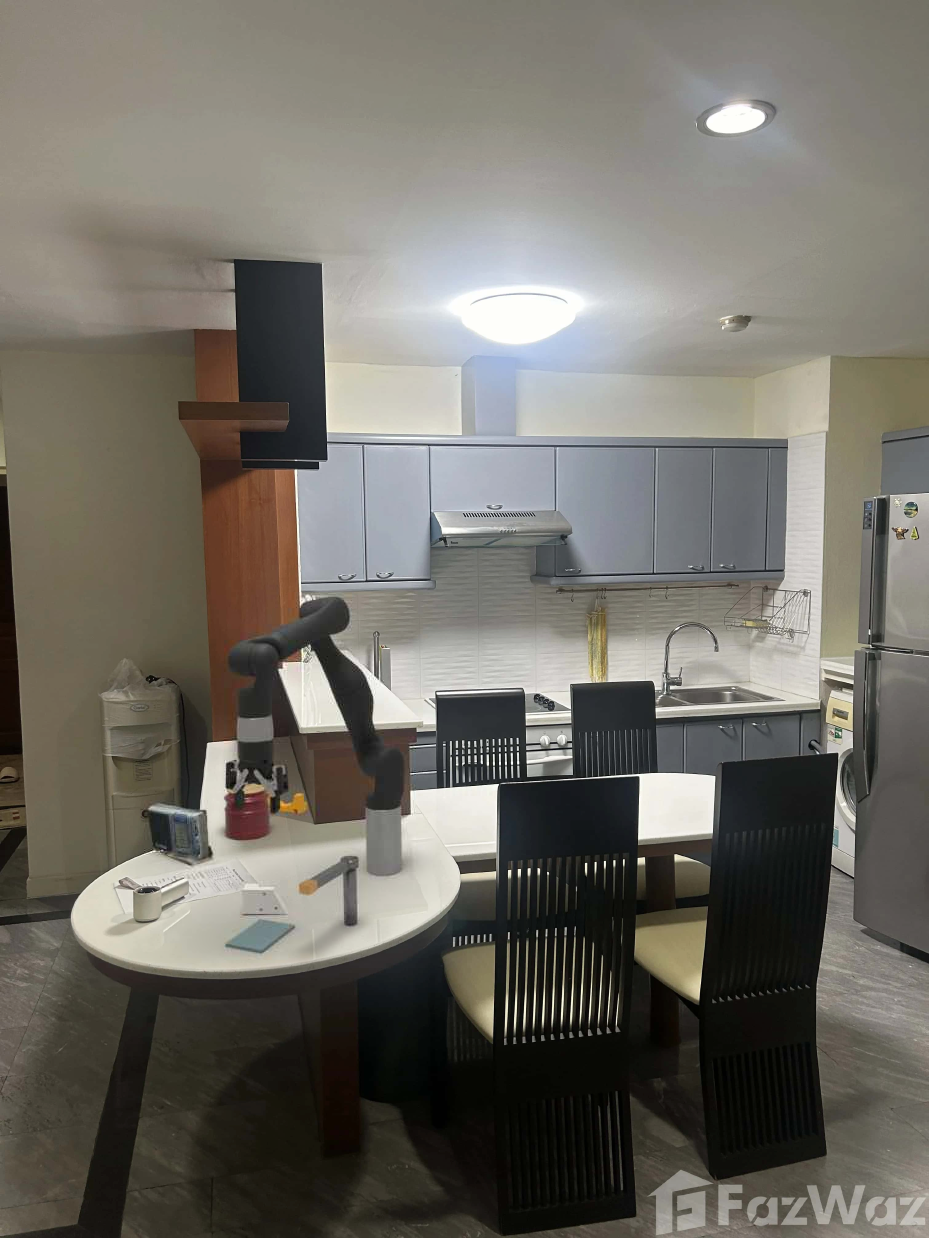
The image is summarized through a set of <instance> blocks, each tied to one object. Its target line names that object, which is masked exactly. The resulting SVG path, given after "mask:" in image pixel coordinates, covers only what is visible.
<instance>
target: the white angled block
mask: <svg viewBox="0 0 929 1238" xmlns="http://www.w3.org/2000/svg"><path fill="white" fill-rule="evenodd" d="M288 913H289V910H288V909H287V906H286V905H285V903H284V902H283V900H282V898H281V896H280V895H279V893H278V891H277V890H276V888H275V887H274V886H261V885H260V883H245V885H244V887H243V888H242V915H288Z"/></svg>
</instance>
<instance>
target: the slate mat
mask: <svg viewBox="0 0 929 1238" xmlns="http://www.w3.org/2000/svg"><path fill="white" fill-rule="evenodd" d="M295 928H296V926H295V924H292V923H286V922H280V921H273V920H269V919H268V920H267V919H263V918H262V919H261V918H260V919H258V920H257V921H255V922H254V923H252V924H251V925H250V926H248V927H247V928H244V930H242V931H241V932H240V933H237V935H236V936H234V937H233V938H231V939H229V940H228V941H227V942H225V945H224V946H225V947H226V948H229V949H234V950H241V951H247V952H250V953H251V952H252V953H257V954H261V955H263V954H264V953H265V952H266V951H267V950H268V949H270V948H272V947H273V946H274V945H275V944H276V943H277V942H279V941H280V940H281V939H282V938H284V937H285V936H287V935H288V934H289V933H291V932H292V931H293V930H294V929H295Z"/></svg>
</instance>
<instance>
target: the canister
mask: <svg viewBox="0 0 929 1238" xmlns="http://www.w3.org/2000/svg"><path fill="white" fill-rule="evenodd" d="M243 791H244V796H245V807H244V808H243V809H241V810H237V809H236V807H235V805H234V792H233V791H232V790H230V789H226V792H227V794H225V795H224V796H223V799H224V801H225V807H224V808H223V809H224V815H225V817H224V818H225V819H224V821H225V828H224V830H225V831H224V833H225V837H226V838H228V839H230V840H236V841H252V840H257V839H261V838H264V837H266V836H268V835H270V832H271V821H270V820H271V819H270V816H271V815H270V810H269V807H270V804H269V803H268V797H269V796H270V794H269V793H268V790H267V791H266V789H265V788H264V787H263V785H262V784H261V785H257V784H255V783H253V784H248V783H247V785H246V786H245V788H244V789H243Z"/></svg>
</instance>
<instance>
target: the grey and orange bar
mask: <svg viewBox="0 0 929 1238" xmlns="http://www.w3.org/2000/svg"><path fill="white" fill-rule="evenodd" d="M359 862H360V861H359V856H357V855H345V856H342V857H340V861H338V862H337V863H335V864H333V865H331V866H330V867H328V868H326V869H324V870H322V871H320V872H319V873H318V874H316V875H314V876H313V877H311V878H309V879H308V878H307V879H305V880H304V881H302V882H300V883H299V884H298V890H299V891H298V893H299V895H306V896H310V895H312V894H314V893H315V892H316V891H318V890H319V889H320V888H321V887H323V886H325V885H326V884H328V883H330V882H331V881H334V879H336V878H338V877H340V876H341V875H342V876H343V873H345V872H347V871H348V870H353V869H356V870H357V869H358V868H359V867H360V865H359Z"/></svg>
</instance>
